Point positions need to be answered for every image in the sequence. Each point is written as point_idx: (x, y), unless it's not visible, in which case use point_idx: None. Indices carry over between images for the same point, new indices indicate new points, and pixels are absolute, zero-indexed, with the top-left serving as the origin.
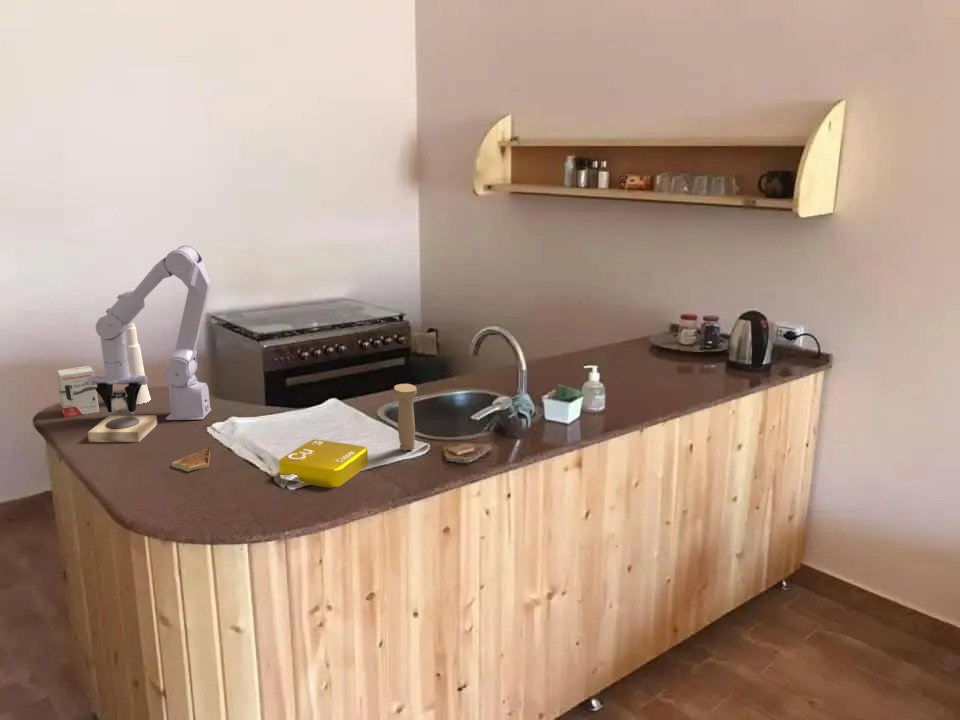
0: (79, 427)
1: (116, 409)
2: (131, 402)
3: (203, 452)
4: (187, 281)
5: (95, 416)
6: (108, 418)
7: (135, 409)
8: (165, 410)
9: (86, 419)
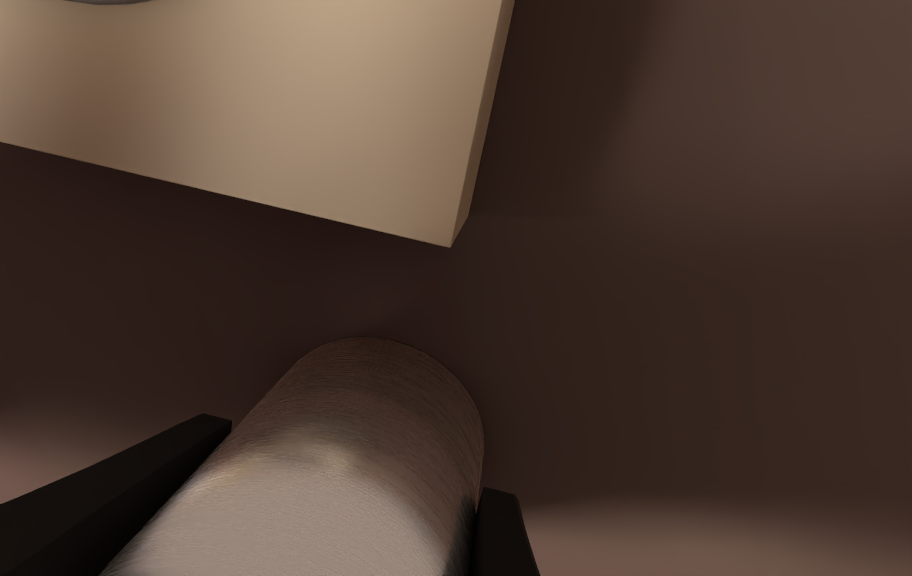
0: (876, 223)
1: (359, 426)
2: (61, 482)
3: None
4: None
5: (689, 564)
6: (424, 88)
7: None
8: None
9: (788, 502)
